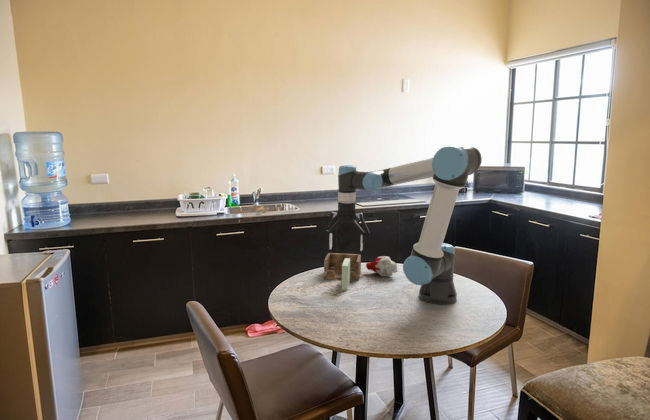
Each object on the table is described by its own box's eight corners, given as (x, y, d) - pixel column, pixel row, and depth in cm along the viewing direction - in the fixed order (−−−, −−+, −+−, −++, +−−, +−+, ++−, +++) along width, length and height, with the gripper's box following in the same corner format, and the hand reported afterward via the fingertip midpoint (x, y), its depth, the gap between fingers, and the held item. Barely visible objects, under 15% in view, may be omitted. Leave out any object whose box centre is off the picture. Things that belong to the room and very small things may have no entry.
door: (344, 281, 204) (344, 258, 202) (350, 281, 204) (350, 258, 201) (341, 289, 193) (341, 265, 191) (347, 290, 193) (347, 265, 191)
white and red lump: (397, 277, 207) (365, 279, 209) (398, 269, 218) (367, 271, 220) (396, 259, 205) (363, 261, 208) (396, 252, 216) (365, 254, 219)
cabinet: (360, 272, 216) (360, 254, 214) (358, 281, 203) (358, 262, 202) (328, 270, 218) (328, 252, 217) (323, 279, 206) (323, 261, 204)
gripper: (376, 201, 193) (374, 248, 197) (319, 199, 197) (319, 245, 201) (375, 204, 186) (374, 253, 190) (316, 202, 189) (316, 250, 194)
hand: (345, 249), depth 195 cm, fingers open, 13 cm apart
